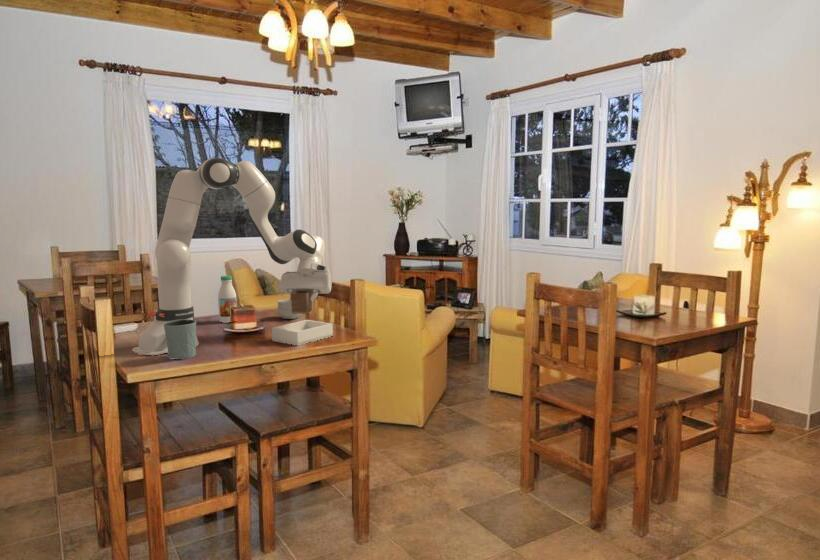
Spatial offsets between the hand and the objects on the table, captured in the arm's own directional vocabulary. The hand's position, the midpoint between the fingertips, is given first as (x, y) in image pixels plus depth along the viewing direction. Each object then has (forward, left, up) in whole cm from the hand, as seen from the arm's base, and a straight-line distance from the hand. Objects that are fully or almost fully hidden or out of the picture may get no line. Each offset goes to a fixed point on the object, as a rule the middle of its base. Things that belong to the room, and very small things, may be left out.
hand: (301, 301), depth 224 cm
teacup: (+24, +33, -15) cm, 44 cm away
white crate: (0, 0, -15) cm, 15 cm away
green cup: (-42, +14, -15) cm, 46 cm away
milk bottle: (+4, +51, -15) cm, 54 cm away
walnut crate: (+1, 0, -4) cm, 4 cm away
